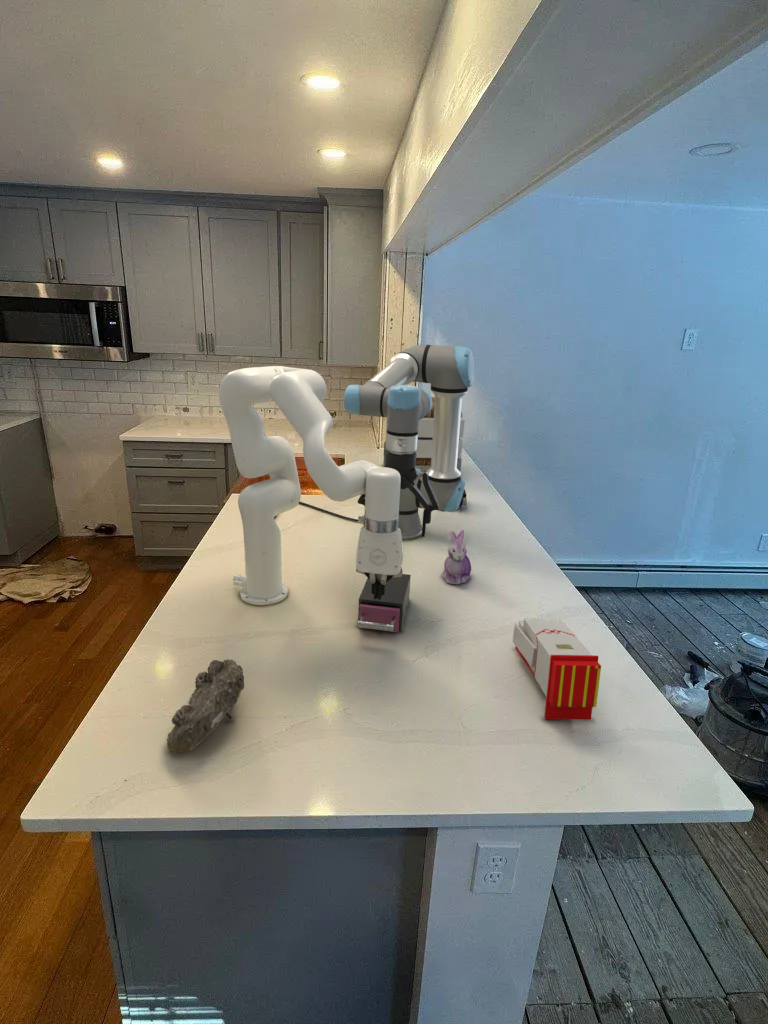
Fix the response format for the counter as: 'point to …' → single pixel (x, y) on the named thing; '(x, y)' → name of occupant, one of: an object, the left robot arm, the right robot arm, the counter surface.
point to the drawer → (379, 617)
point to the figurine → (457, 560)
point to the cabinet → (390, 595)
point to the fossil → (206, 705)
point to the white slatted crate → (429, 440)
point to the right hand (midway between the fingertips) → (396, 532)
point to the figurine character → (463, 500)
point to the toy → (559, 667)
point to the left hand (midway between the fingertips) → (378, 596)
